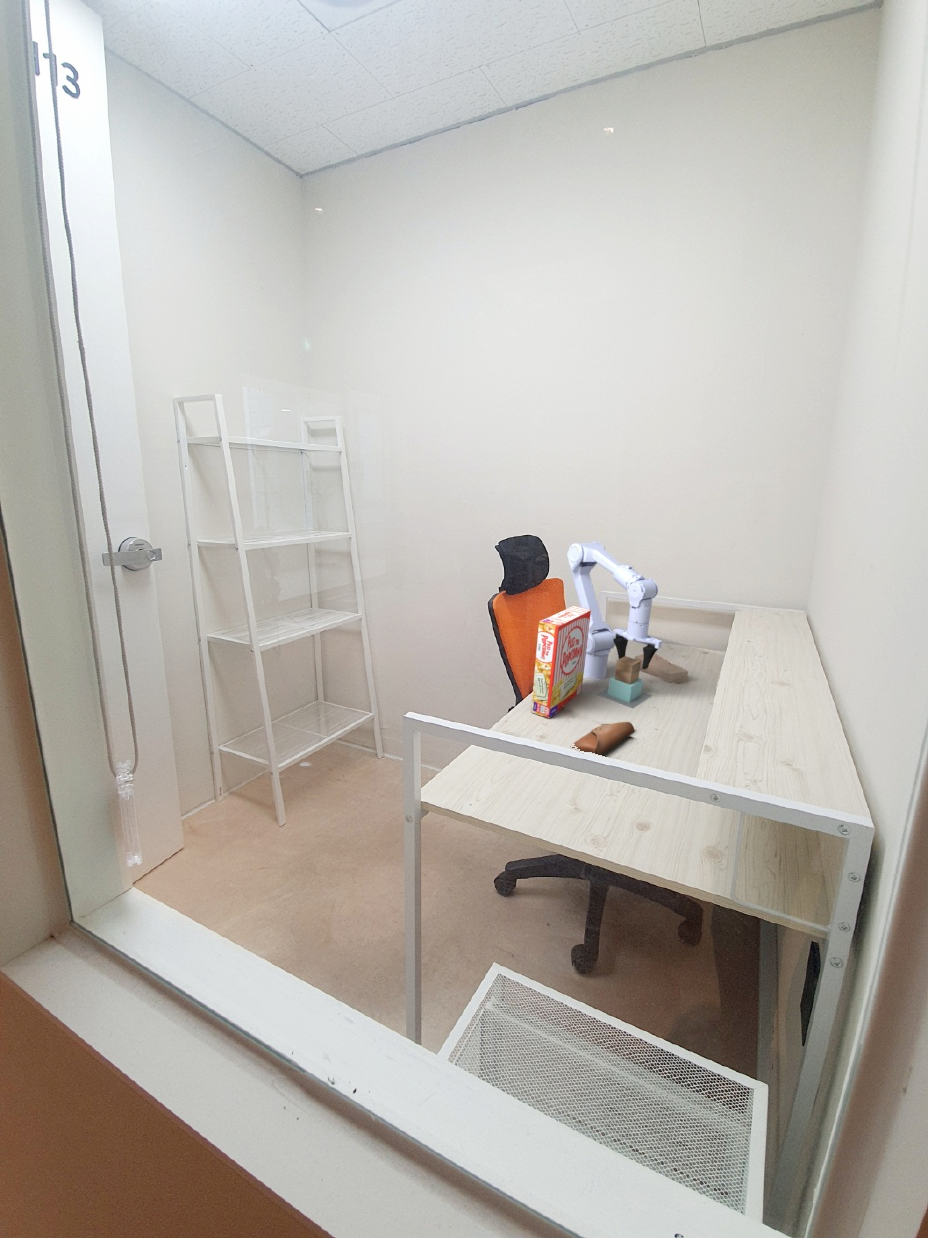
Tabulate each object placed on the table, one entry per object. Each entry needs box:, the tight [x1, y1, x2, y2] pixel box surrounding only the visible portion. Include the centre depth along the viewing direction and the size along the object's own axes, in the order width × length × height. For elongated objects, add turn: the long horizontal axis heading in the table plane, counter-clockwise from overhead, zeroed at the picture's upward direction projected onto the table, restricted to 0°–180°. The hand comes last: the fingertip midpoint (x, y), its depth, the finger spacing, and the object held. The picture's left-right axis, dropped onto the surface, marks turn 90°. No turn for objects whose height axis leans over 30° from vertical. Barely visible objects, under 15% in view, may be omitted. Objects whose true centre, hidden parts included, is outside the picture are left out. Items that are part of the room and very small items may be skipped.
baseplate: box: [596, 686, 653, 709], centre depth 159 cm, size 12×12×1 cm
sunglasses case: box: [571, 721, 635, 756], centre depth 135 cm, size 18×7×7 cm
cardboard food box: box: [530, 605, 591, 718], centre depth 151 cm, size 20×6×27 cm, turn 143°
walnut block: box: [614, 655, 641, 685], centre depth 157 cm, size 5×5×6 cm
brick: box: [634, 653, 689, 685], centre depth 176 cm, size 17×8×5 cm, turn 27°
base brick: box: [608, 675, 644, 702], centre depth 158 cm, size 7×7×5 cm
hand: (633, 664), depth 157 cm, fingers open, 7 cm apart
